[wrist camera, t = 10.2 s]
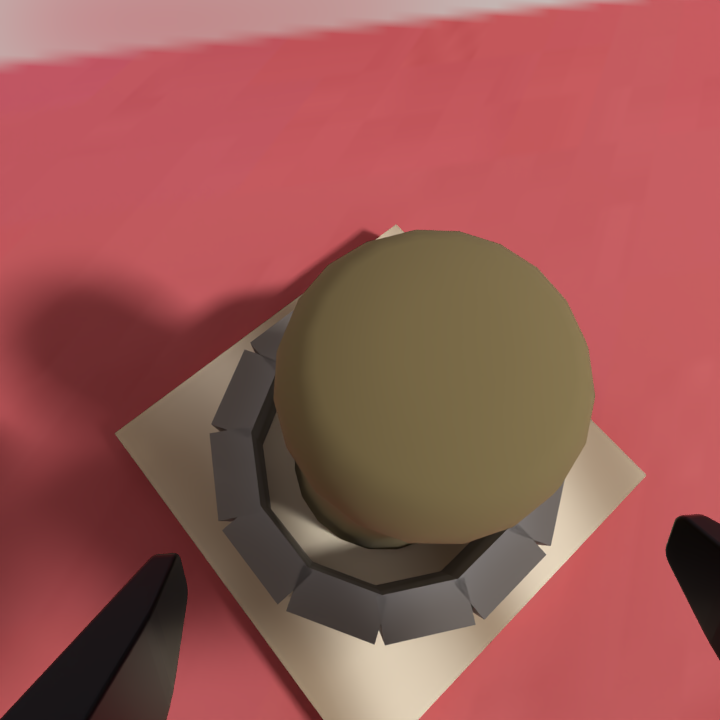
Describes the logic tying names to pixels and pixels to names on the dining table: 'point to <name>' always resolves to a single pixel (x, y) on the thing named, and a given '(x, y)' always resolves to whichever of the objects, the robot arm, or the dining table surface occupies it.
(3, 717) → the robot arm
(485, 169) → the dining table surface
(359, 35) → the dining table surface
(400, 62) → the dining table surface
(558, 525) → the collar board
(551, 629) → the dining table surface
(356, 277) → the cork
